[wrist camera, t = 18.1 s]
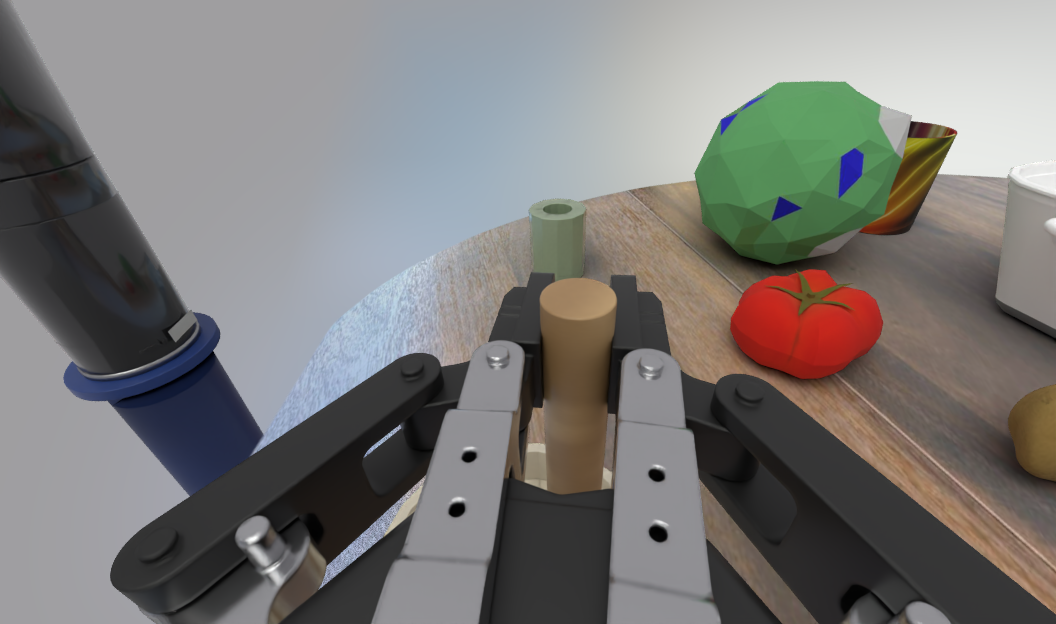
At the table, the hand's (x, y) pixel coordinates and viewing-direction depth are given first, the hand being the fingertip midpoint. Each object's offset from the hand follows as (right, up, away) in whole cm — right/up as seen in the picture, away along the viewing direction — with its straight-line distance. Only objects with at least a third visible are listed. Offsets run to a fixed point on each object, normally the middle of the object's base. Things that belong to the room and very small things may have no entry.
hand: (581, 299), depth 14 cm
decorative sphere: (+28, +7, +41) cm, 50 cm away
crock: (+2, +5, +39) cm, 39 cm away
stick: (0, -15, +7) cm, 16 cm away
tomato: (+22, -4, +25) cm, 34 cm away
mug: (+44, +13, +47) cm, 66 cm away
